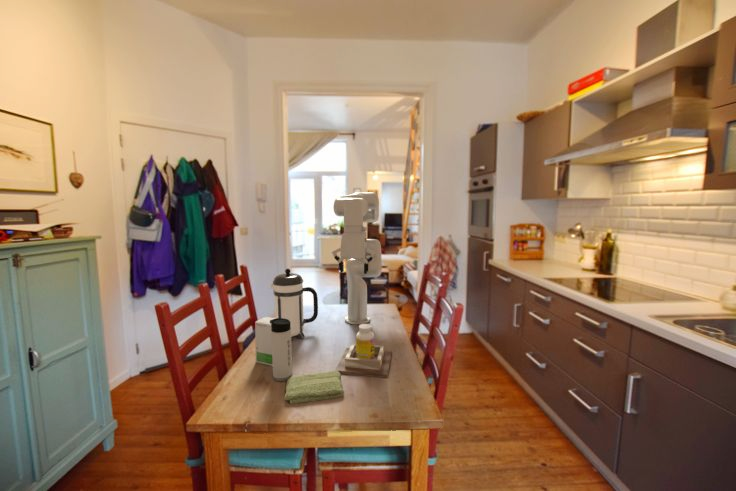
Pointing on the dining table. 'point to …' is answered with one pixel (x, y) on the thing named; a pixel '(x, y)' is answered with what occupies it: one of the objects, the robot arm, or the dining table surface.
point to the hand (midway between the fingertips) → (353, 272)
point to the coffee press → (292, 301)
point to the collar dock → (365, 363)
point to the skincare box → (263, 341)
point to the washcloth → (314, 387)
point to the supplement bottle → (365, 342)
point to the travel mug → (281, 349)
